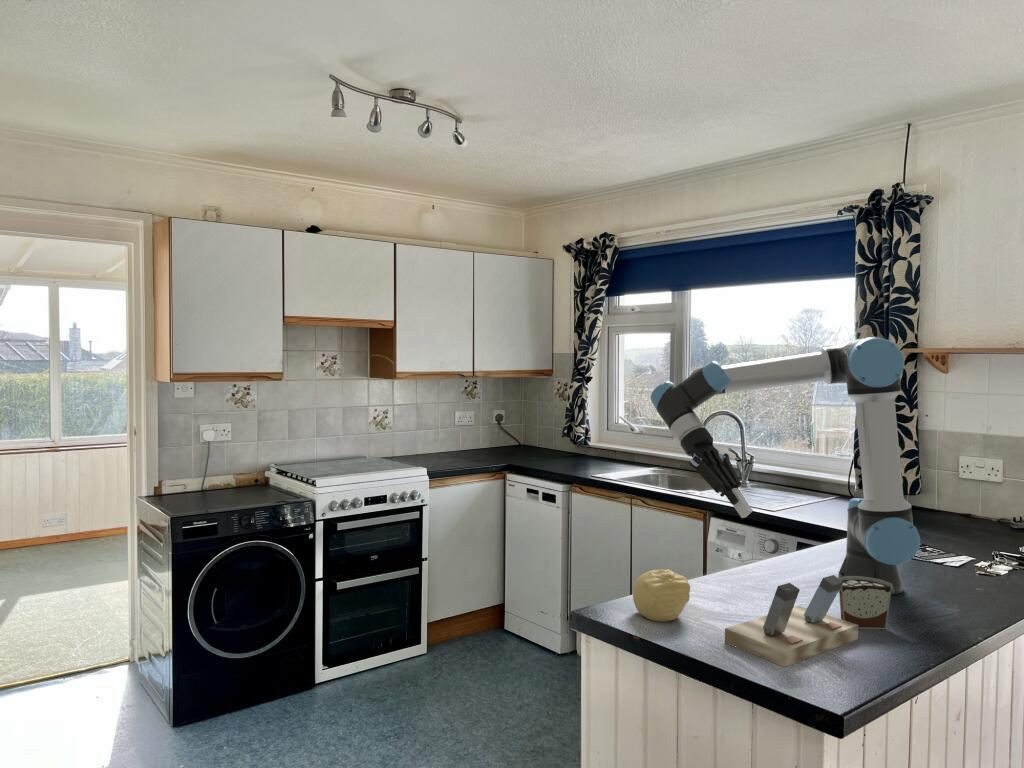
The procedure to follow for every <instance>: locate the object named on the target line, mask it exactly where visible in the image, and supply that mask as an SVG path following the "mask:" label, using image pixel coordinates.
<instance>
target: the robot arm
mask: <svg viewBox="0 0 1024 768" xmlns="http://www.w3.org/2000/svg"><path fill="white" fill-rule="evenodd" d="M904 367H905V359H904V355H903V353H902V351H901V349H900V348H899V347H898V346H897V345H896V344H895V343H894V342H892V341H890V340H889V339H887V338H883V337H878V336H868V337H864V338H857V339H854V340H850V341H847V342H845V343H841V344H837V345H833V346H828V347H826V346H825V347H822V348H821V349H820V350H819V351H818V352H811V353H804V354H798V355H797V354H796V355H791V356H784V357H776V358H769V359H761V360H755V361H748V362H739V363H733V364H726V365H720V364H719V363H718V361H715V360H711V361H709V362H708V363H706V364H704V365H703V366H702V367H700V368H697V369H694V370H693V371H692V372H691V374H689V376H688V377H687V378H686V379H684V380H683V381H681V382H679V383H678V384H675V383H674V382H672V381H665V382H664V383H661V384H659V385H657V386H656V387H655V388H654V389H653V390H652V391H651V394H650V402H651V403H652V405H653V406H654V408H655V410H656V412H657V413H658V414H659V416H660V417H661V419H662V420H663V422H664V423H665V425H666V426H667V427H668V429H669V430H670V431H671V433H672V434H673V436H674V438H675V439H676V441H677V443H680V447H681V448H682V450H683V451H684V452H685V454H686V455H687V456H688V457H691V460H689V462H688V465H689V466H690V467H691V468H693V469H694V470H695V471H697V473H698V474H699V475H700V476H701V478H702V479H704V481H705V482H706V483H707V484H708V485H709V486H710V487H711V489H712V490H713V491H714V492H715V493H716V494H719V493H720V494H719V495H720V497H721V498H722V497H724V496H726V498H727V500H728V501H729V502H730V504H731V505H732V506H733V508H734V509H735V510H736V512H737V514H738V515H739V516H740V518H741V519H744V518H747V517H748V516H749V515H750V514H751V513H752V512H754V510H753V509H752V508H751V506H750V504H749V503H748V502H747V500H746V498H745V497H744V495H743V493H741V491H740V490H739V487H741V485H742V482H741V480H740V477H739V476H738V475H737V472H736V471H735V468H734V466H733V464H732V463H731V460H730V455H729V454H728V453H726V452H725V453H723V454H721V453H719V450H718V448H716V447H715V446H714V438H713V436H712V434H711V433H710V432H709V430H708V429H707V428H706V427H705V424H703V422H702V421H701V419H700V418H699V416H698V415H697V414H696V412H695V411H694V410H695V409H697V408H698V407H699V406H701V405H702V404H704V403H706V402H707V401H708V400H710V399H712V398H714V396H717V395H722V394H731V393H738V392H739V393H741V392H746V391H747V392H748V391H755V390H762V389H770V388H777V387H778V388H779V387H786V386H792V385H793V386H794V385H795V386H796V385H801V384H808V383H809V384H811V383H819V382H824V383H826V384H827V385H832V384H846V389H847V396H848V397H849V398H851V399H852V400H853V401H854V404H855V412H856V413H855V415H856V423H857V424H856V425H857V434H858V436H857V437H858V446H859V447H858V448H859V457H860V469H861V478H862V479H861V481H862V488H863V489H862V490H863V498H860V497H853V498H851V499H850V500H849V502H848V504H847V505H848V506H847V529H846V550H845V551H846V554H845V557H844V559H843V561H842V563H841V566H840V569H839V571H838V574H837V578H838V579H840V578H842V577H846V576H862V577H870V578H875V579H880V580H883V581H886V582H889V583H891V584H892V587H893V588H894V593H892V592H891V596H896V595H900V594H901V593H903V585H904V584H903V580H902V576H901V573H900V570H899V566H898V565H902V564H905V563H908V562H910V561H911V560H912V559H913V558H914V557H915V556H916V555H917V554H918V551H919V549H920V546H921V537H920V536H921V535H920V534H919V531H918V530H917V527H916V526H915V525H914V518H913V511H912V509H913V508H912V504H911V503H910V502H908V501H907V500H906V499H905V498H904V489H903V488H904V487H903V478H902V466H901V455H900V454H901V453H900V445H899V444H900V443H899V435H898V434H899V433H898V420H897V412H896V410H897V409H896V398H897V397H898V395H899V394H901V392H902V387H901V376H902V374H903V372H904ZM899 593H900V594H899ZM895 594H896V595H895Z"/></svg>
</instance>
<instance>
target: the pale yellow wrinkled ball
mask: <svg viewBox="0 0 1024 768" xmlns="http://www.w3.org/2000/svg"><path fill="white" fill-rule="evenodd" d="M690 592H691V585H690V583H689V580H688V579H687V578H686V577H685V576H684V575H680V574H679V573H677V572H674V571H673V570H671V569H669V568H667V569H653V570H649V571H646V572H644V573H643V574H641V575H640V576H639V577H638V578H637V579H636V581H635V583H634V586H633V590H632V600H633V604H634V606H635V608H636V611H637V612H638V613H639V614H640V615H641V616H643V617H645V618H647V619H649V620H652V621H655V622H671V621H674V620H676V619H677V618H678V617H679V616H680V615H681V613H682V612H683V611H684V608H685V607H686V605H687V603H688V602H689V601H690Z"/></svg>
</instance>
